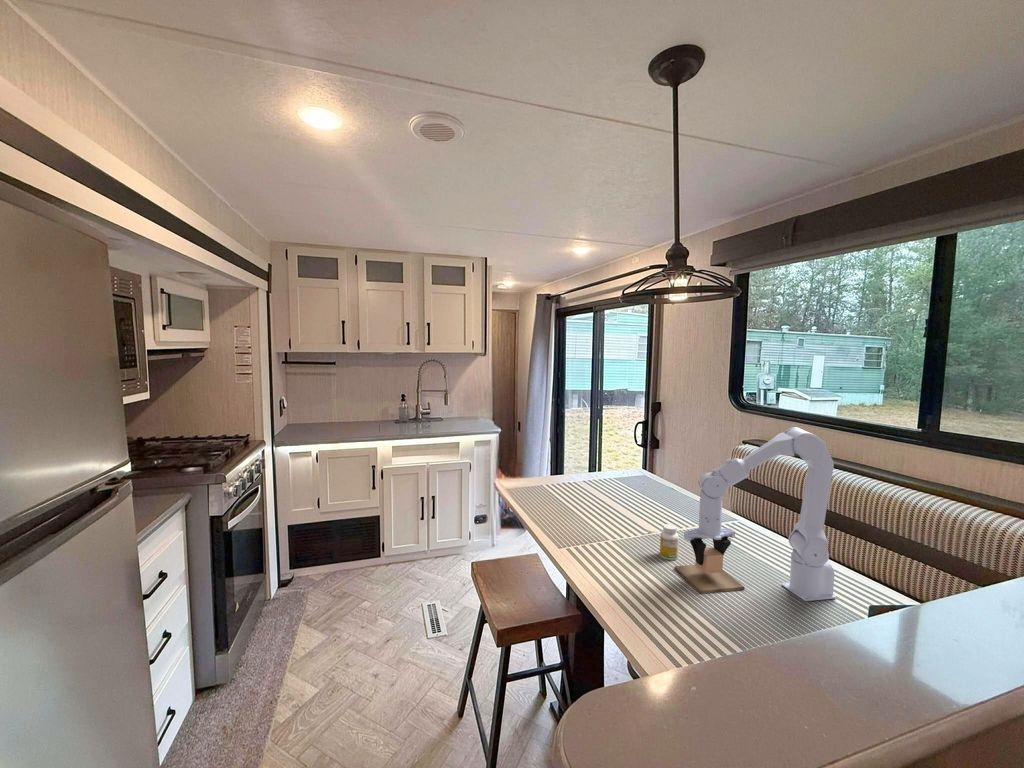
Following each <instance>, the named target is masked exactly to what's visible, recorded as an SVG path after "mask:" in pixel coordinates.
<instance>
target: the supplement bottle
mask: <svg viewBox="0 0 1024 768" xmlns="http://www.w3.org/2000/svg"><path fill="white" fill-rule="evenodd" d="M677 528H678V527H677V526H676V525H674V524H670V523H666V524H663V526H662V531H661V532H660V540H659V541H660V542H659V555H660V557H662V558H663V559H665V560H669V561H675V560H678V558H679V546H680V545H679V543H680V542H679V540H680V539H679V534H678V533H677V531H678V529H677Z"/></svg>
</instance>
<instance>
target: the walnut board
mask: <svg viewBox="0 0 1024 768" xmlns="http://www.w3.org/2000/svg"><path fill="white" fill-rule="evenodd" d="M673 569H674V570H675V571H676V572H677V573H678V574H679V575H680V574H681V575H682V576H683V579H684V580H686V581H687V583H688V584H690V585H691V586H692V587H693V588H694V589H695V590H697V592H698V593H699V594H711V593H721V592H734V591H742V590H744V591H745V590H746V589H745V586H744V585H743V584H742V583H740V582H739V581H738V580H736V579H735V578H734V577H733V576H732V575H730V574H729V573H728V572H726V571H725V570H724V569H722V572H720V573H707V574H706V573H705V572H704V571H702V570H701V569H700V568H699V567H698V566H697V565H695V564H686V565H674V568H673ZM681 575H680V576H681ZM682 576H681V577H682Z"/></svg>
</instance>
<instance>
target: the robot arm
mask: <svg viewBox="0 0 1024 768" xmlns="http://www.w3.org/2000/svg"><path fill="white" fill-rule="evenodd" d="M795 453H796V454H797V455H798V456H799V458H801V459H802V460H803V461H804V462H805V464H807V470H806V475H805V476H806V477H805V483H804V489H803V490H804V491H803V496H802V502H801V508H800V513H799V515H800V516H799V521H798V522H796V523H795V524H794V526H793V527H794V528H793V530H792V531H791V533H790V534H789V535H788V543H789V546H790V547H791V548H792V552H791V555H790V572H789V573H790V574H789V582H781V586H782V587H784V588H785V589H786V590H788V591H789V592H791V593H792V594H794V595H795V596H796V597H798V598H800V599H801V600H803V601H804V602H812V601H822V600H831V599H833V600H834V599H836V598H837V596H836V595H834V585H835V571H834V567H833V565H832V564H831V563H830V562H829V559H830V553H829V551H828V547H827V546H828V539H827V536H826V534H825V531H824V530H825V529H824V527H825V521H826V515H827V510H828V509H827V507H828V503H829V496H830V490H831V484H832V479H833V472H834V467H835V465H834V464H835V462H834V459H833V458H832V455H831V454H830V452H829V450H828V449H827V443H826V442H825V441H824V440H823V439H821V438H820V437H819V436H818V435H816V434H815V433H811V432H809V431H806V430H804V429H802V428H800V427H789V428H788V429H786V430H785V431H784V432H780V433H778V434H776V435H775V436H774V437H773V438H771V439H770V440H769V441H767V442H766V443H764V444H762V445H761V446H759V447H758V448H756V449H755V450H752V452H751V453H749V454H748V455H746V456H744V457H743V458H738V457H737V458H736V457H734V458H732V459H731V458H727V459H726V460H725V463H724V464H722V465H721V466H719V467H717V468H713V469H711V470H710V472H706V473H703V474H701V475H700V478H699V480H698V481H697V482H698V485H699V487H700V492H699V493H700V494H699V495H700V498H699V506H698V507H699V511H698V527H697V528H694V529H691V530H686V531H685V530H684V531H683V532H684V533H683V539H684V540H686V541H687V542H690V545H691V548H692V550H693V552H694V557H695V561H696V562H697V563H698V564H699V565H703V559H704V551H705V548H706V547H708V546H707V544H706V543H705V542H704V540H705V539H707V540H708V539H712V543H713V548H714V549H716V550H717V551H718V552H720V553H721V554H723V556H725V554H726V552H727V550H728V548H729V547H730V546H731V544H732V540H730V539H729V538H731V539H735V538H736V530H734V529H732V528H723V527H722V517H723V515H722V513H723V496H724V495H725V493H726V490H727V489H728V488H731V487H733V486H734V485H736V484H737V483H740V482H742V481H743V480H745V479H747V478H748V477H749V476H750V473H751V470H752V469H754V468H756V467H758V466H761V464H764V463H766V462H768V461H769V460H772V459H773V458H775V457H778V456H787V457H795Z"/></svg>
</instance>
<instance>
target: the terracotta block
mask: <svg viewBox="0 0 1024 768" xmlns="http://www.w3.org/2000/svg"><path fill="white" fill-rule="evenodd" d="M694 565H697V566H698V567H699V568H700V569H701V570H702V571H704V572H705V573H706V574H707V573H720V572H722V570H724V569H723V566H724V555H723V554H721V553H720V552H718V551H717V550H716V549H714V546H706V548H705V551H704V559H703V565H699V564H698V563H697V562H696V560H695V564H694Z"/></svg>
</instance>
